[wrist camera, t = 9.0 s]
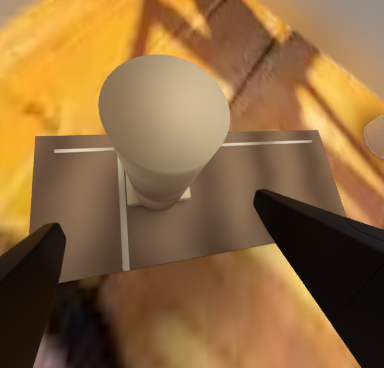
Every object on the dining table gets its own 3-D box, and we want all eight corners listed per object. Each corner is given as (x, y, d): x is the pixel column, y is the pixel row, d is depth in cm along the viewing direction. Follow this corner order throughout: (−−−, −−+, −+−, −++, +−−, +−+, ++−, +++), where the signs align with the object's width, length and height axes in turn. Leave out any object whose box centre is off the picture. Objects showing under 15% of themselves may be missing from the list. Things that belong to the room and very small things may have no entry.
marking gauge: (173, 122, 20) (207, -67, 7) (184, 211, 18) (262, 162, 5) (127, 123, 19) (71, -101, 6) (133, 218, 17) (66, 175, 4)
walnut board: (305, 138, 24) (318, 129, 22) (333, 229, 21) (351, 228, 19) (48, 146, 17) (34, 135, 15) (42, 281, 15) (24, 289, 13)
